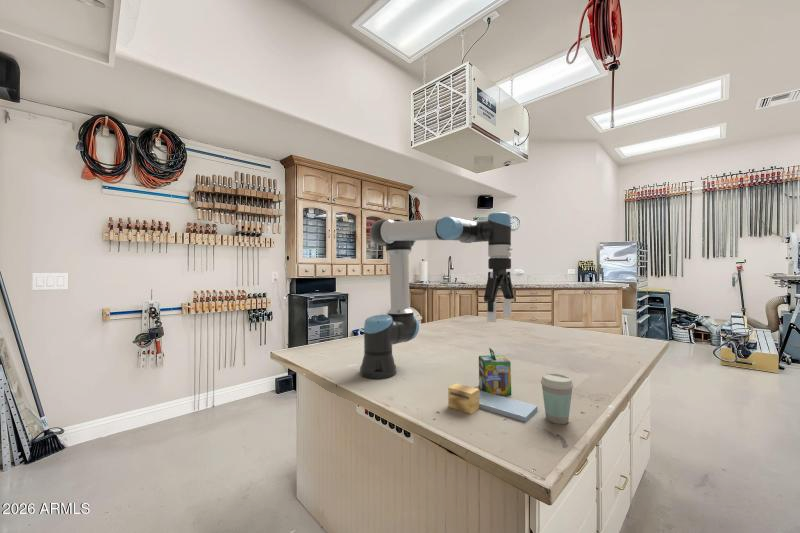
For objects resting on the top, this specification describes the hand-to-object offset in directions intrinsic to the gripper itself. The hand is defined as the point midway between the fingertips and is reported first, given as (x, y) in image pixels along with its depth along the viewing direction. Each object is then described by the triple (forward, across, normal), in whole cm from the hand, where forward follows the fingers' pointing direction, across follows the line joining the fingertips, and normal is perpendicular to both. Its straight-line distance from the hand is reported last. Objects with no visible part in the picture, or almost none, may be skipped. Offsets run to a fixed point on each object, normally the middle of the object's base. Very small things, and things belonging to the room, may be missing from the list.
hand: (499, 319), depth 111 cm
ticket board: (+26, -10, -2) cm, 28 cm away
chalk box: (+26, +2, +3) cm, 26 cm away
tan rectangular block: (+26, -18, +4) cm, 31 cm away
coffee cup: (+26, -7, -20) cm, 34 cm away
